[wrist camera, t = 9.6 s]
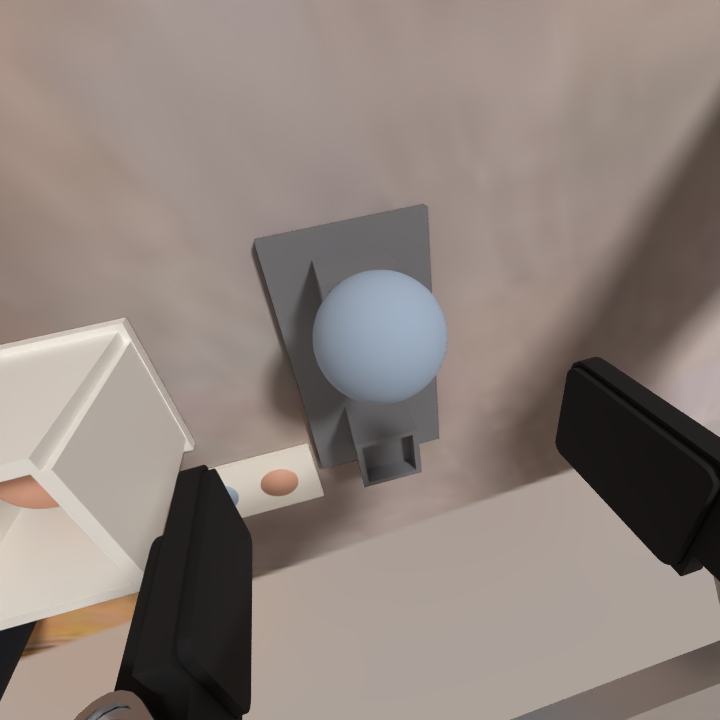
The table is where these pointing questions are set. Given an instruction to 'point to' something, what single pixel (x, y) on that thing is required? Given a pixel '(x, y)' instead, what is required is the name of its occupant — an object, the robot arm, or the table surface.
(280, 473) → the card
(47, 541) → the two-slot cubby shelf
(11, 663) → the wine bottle
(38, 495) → the terracotta ball
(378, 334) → the slate ball
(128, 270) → the table surface
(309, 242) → the ball stand
